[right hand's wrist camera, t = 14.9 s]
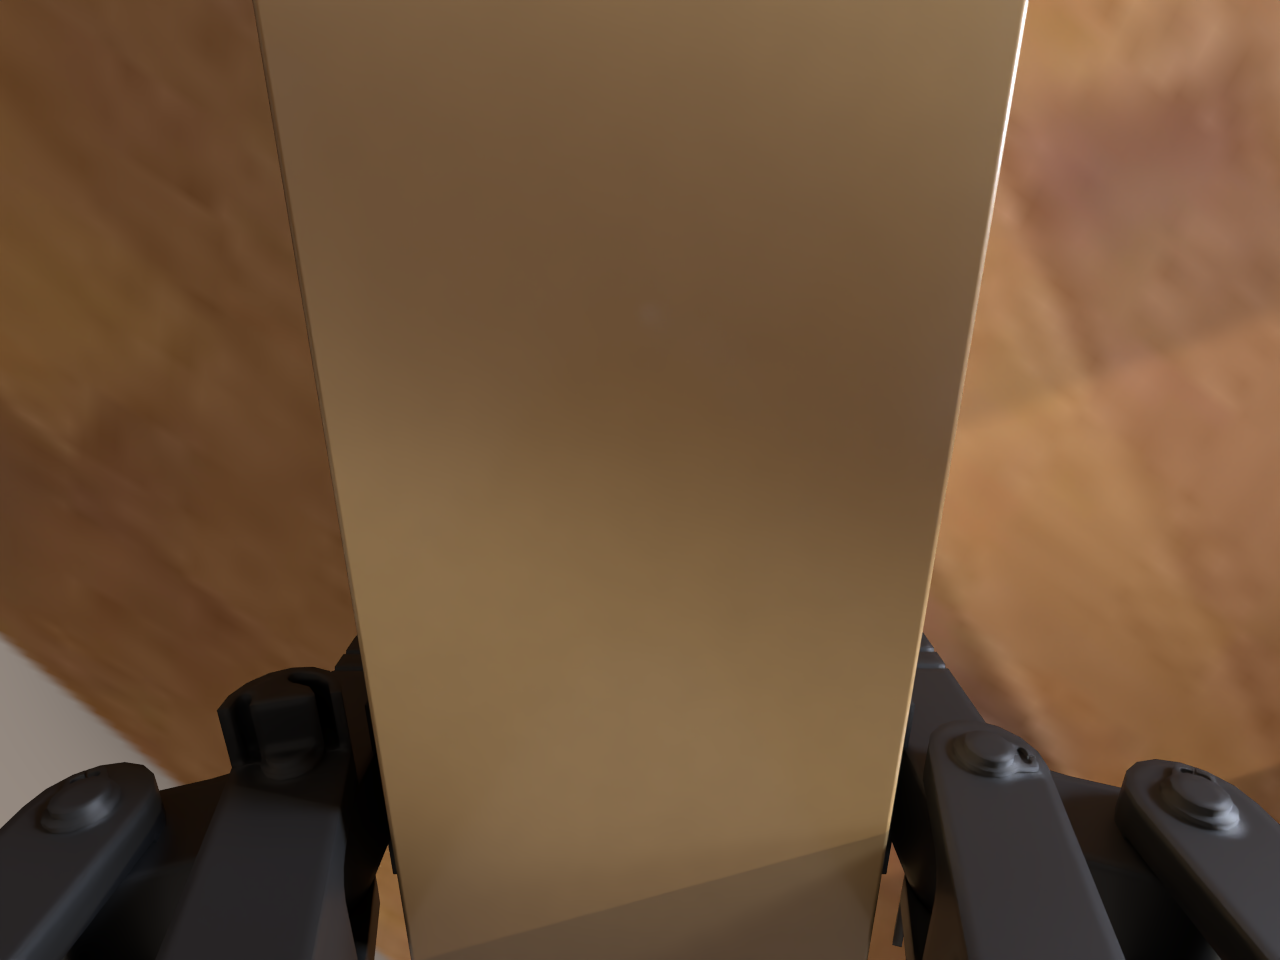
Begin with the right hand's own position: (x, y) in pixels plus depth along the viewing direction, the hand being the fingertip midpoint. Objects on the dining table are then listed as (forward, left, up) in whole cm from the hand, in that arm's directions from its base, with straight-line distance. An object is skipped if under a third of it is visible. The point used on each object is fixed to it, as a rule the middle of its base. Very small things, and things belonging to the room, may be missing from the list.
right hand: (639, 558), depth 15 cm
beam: (-11, -34, -1) cm, 35 cm away
